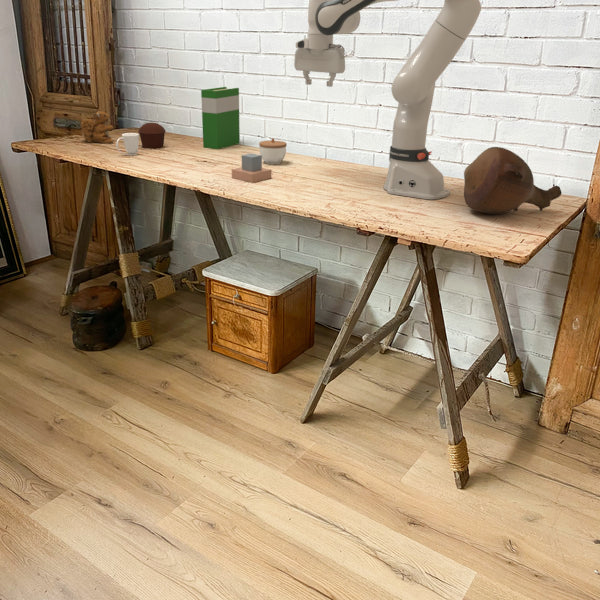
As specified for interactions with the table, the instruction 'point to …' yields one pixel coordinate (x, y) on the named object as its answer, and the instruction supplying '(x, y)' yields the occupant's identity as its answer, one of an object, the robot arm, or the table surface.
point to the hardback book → (220, 117)
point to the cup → (130, 143)
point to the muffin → (152, 135)
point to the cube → (251, 162)
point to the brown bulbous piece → (503, 183)
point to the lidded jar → (272, 151)
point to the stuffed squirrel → (97, 129)
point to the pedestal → (251, 174)
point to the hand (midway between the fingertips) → (318, 85)
